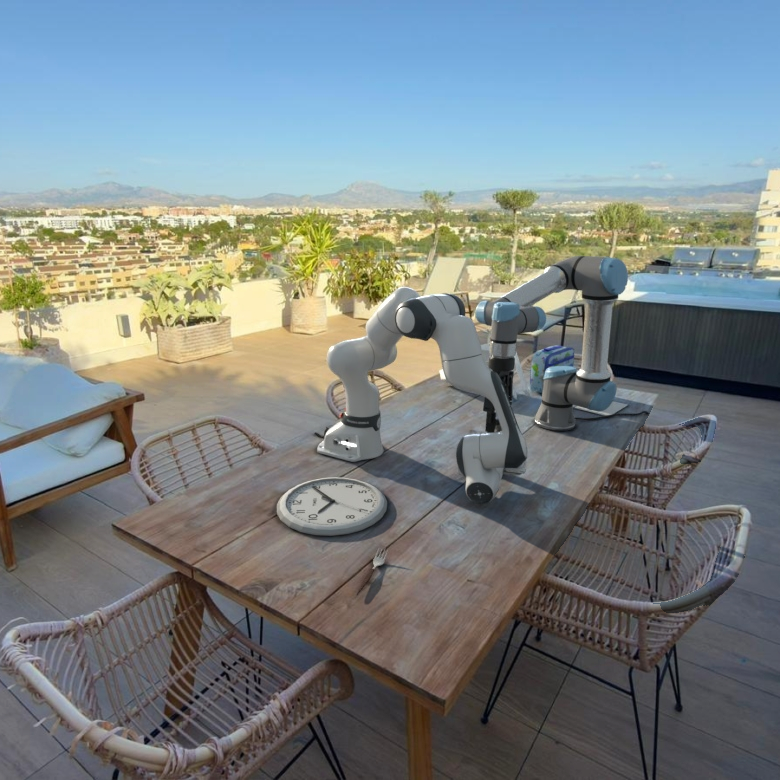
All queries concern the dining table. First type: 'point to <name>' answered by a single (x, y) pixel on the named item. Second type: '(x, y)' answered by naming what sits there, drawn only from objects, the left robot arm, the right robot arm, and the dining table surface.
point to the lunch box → (548, 363)
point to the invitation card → (610, 410)
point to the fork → (376, 562)
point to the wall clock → (331, 506)
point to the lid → (497, 421)
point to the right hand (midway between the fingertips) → (496, 428)
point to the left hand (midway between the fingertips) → (494, 450)
